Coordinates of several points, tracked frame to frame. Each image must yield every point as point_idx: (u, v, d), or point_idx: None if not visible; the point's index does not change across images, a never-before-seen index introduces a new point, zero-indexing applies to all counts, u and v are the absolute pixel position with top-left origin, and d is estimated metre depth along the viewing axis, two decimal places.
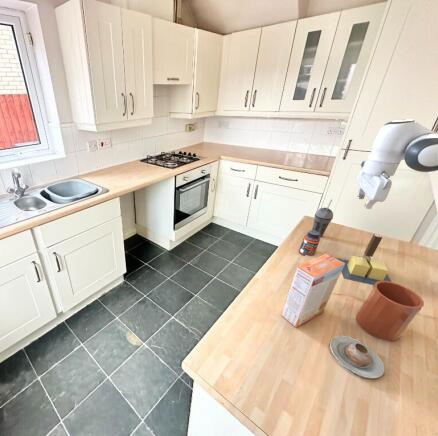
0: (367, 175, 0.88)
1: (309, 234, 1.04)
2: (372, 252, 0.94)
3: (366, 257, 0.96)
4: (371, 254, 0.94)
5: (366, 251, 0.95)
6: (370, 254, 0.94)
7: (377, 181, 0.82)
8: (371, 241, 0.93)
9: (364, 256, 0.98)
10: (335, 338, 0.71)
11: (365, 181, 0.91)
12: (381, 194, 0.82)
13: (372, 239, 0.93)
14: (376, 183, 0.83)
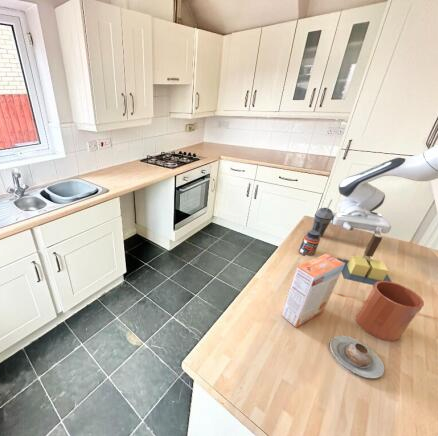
0: None
1: (309, 234, 1.04)
2: (372, 252, 0.94)
3: (366, 257, 0.96)
4: (371, 254, 0.94)
5: (366, 251, 0.95)
6: (370, 254, 0.94)
7: None
8: (371, 241, 0.93)
9: (364, 256, 0.98)
10: (335, 338, 0.71)
11: None
12: (332, 219, 1.12)
13: (372, 239, 0.93)
14: None
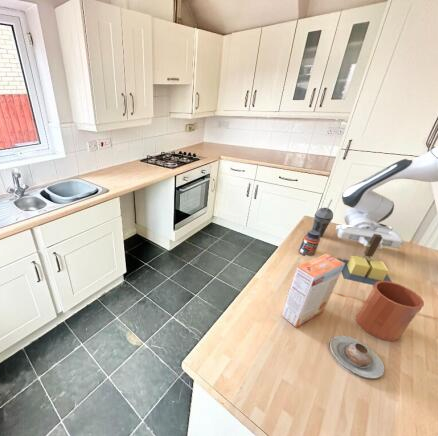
0: None
1: (309, 234, 1.04)
2: (372, 252, 0.94)
3: (366, 257, 0.96)
4: (371, 254, 0.94)
5: (366, 251, 0.95)
6: (370, 254, 0.94)
7: None
8: (371, 241, 0.93)
9: (364, 256, 0.98)
10: (335, 338, 0.71)
11: None
12: (338, 231, 1.02)
13: (372, 239, 0.93)
14: None
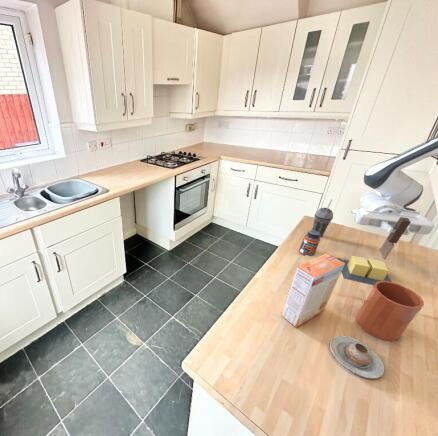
0: None
1: (309, 234, 1.04)
2: (397, 238, 0.80)
3: (389, 244, 0.83)
4: (395, 240, 0.81)
5: (389, 237, 0.82)
6: (394, 240, 0.81)
7: None
8: (396, 225, 0.80)
9: (386, 242, 0.85)
10: (335, 338, 0.71)
11: None
12: (355, 216, 0.89)
13: (398, 224, 0.79)
14: None
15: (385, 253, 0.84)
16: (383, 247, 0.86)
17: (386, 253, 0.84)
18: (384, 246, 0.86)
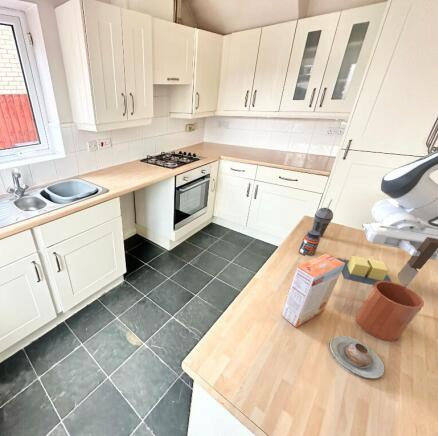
0: None
1: (309, 234, 1.04)
2: (421, 263, 0.63)
3: (410, 269, 0.66)
4: (419, 266, 0.64)
5: (411, 261, 0.65)
6: (418, 266, 0.64)
7: None
8: (421, 247, 0.63)
9: (407, 266, 0.67)
10: (335, 338, 0.71)
11: None
12: (368, 233, 0.72)
13: (424, 245, 0.62)
14: None
15: (405, 280, 0.67)
16: (402, 272, 0.69)
17: (406, 281, 0.66)
18: (404, 271, 0.68)
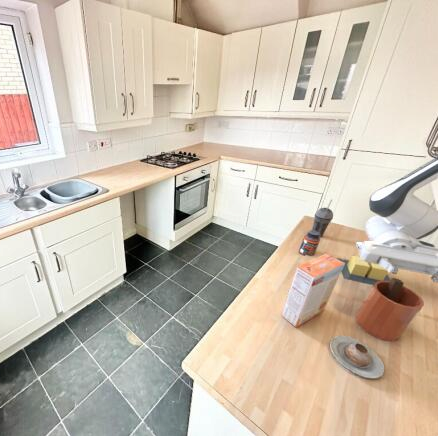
0: None
1: (309, 234, 1.04)
2: None
3: None
4: None
5: None
6: None
7: None
8: (388, 287, 0.72)
9: None
10: (335, 338, 0.71)
11: None
12: (361, 251, 0.73)
13: (390, 285, 0.72)
14: None
15: None
16: None
17: None
18: None
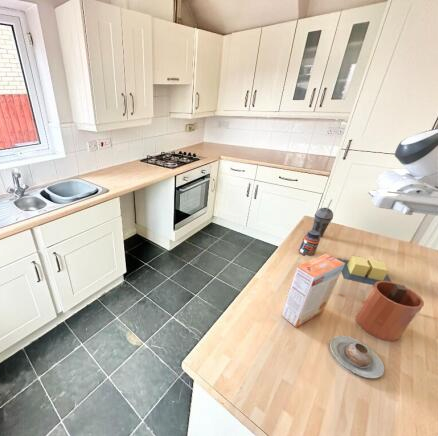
0: None
1: (309, 234, 1.04)
2: None
3: None
4: None
5: None
6: None
7: None
8: (391, 292, 0.71)
9: None
10: (335, 338, 0.71)
11: None
12: (375, 198, 0.72)
13: (393, 291, 0.70)
14: None
15: None
16: None
17: None
18: None
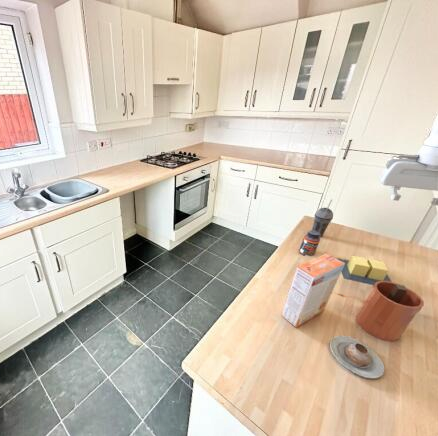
0: None
1: (309, 234, 1.04)
2: None
3: None
4: None
5: None
6: None
7: None
8: (391, 292, 0.71)
9: None
10: (335, 338, 0.71)
11: None
12: (383, 174, 0.74)
13: (393, 291, 0.70)
14: None
15: None
16: None
17: None
18: None
